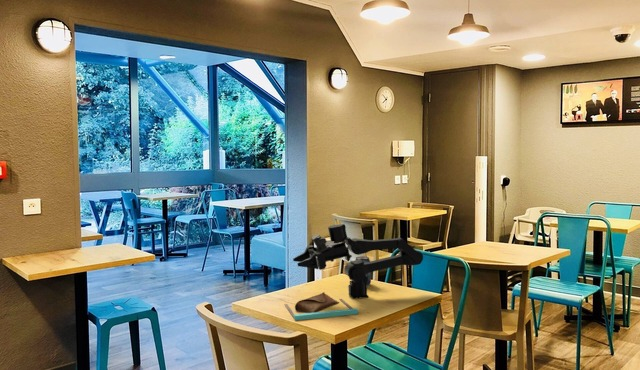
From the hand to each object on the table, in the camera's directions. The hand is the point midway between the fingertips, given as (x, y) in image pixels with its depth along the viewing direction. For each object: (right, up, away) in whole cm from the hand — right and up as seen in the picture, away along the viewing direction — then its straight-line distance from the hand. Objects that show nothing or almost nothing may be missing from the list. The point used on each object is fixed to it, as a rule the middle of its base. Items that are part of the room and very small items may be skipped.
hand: (295, 262), depth 209 cm
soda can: (+29, -14, +26) cm, 41 cm away
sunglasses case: (+9, -17, -6) cm, 20 cm away
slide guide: (+10, -16, -10) cm, 21 cm away
